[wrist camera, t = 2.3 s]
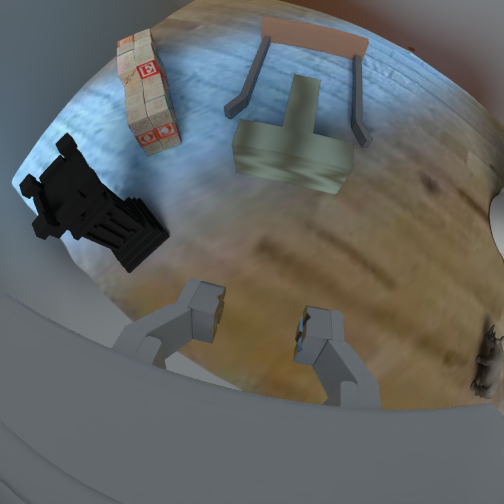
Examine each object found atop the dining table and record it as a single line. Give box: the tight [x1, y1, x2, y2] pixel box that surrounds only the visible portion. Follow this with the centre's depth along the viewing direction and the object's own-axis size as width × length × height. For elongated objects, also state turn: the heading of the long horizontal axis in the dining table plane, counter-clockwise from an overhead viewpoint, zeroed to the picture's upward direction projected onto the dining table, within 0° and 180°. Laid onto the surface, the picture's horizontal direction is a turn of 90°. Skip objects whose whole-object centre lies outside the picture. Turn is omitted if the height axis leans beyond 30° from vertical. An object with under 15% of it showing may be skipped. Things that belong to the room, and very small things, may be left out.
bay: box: [224, 17, 373, 148], centre depth 40 cm, size 24×27×6 cm
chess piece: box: [19, 133, 170, 273], centre depth 28 cm, size 8×8×20 cm
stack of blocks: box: [117, 29, 182, 156], centre depth 37 cm, size 21×6×12 cm, turn 19°
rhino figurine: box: [471, 325, 504, 399], centre depth 30 cm, size 4×14×6 cm, turn 175°
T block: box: [232, 74, 354, 195], centre depth 37 cm, size 15×15×8 cm
